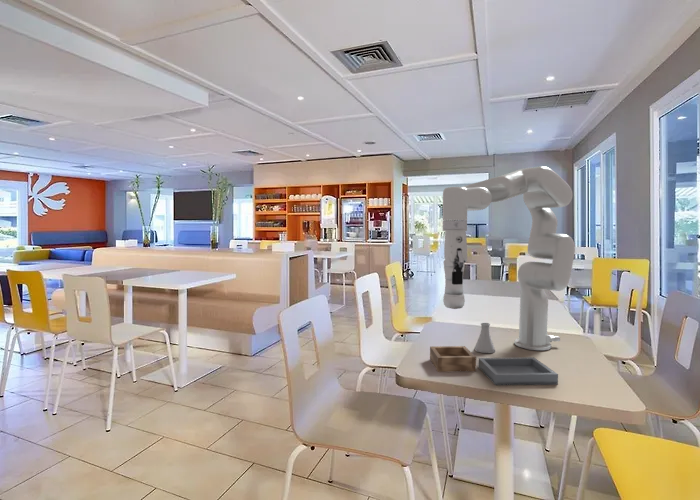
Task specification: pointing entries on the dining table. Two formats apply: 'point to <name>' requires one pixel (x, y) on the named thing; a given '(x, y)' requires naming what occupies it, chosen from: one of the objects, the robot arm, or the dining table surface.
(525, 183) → the robot arm
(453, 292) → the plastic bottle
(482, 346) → the flask
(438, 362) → the holder
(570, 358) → the dining table surface
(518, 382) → the parts tray
